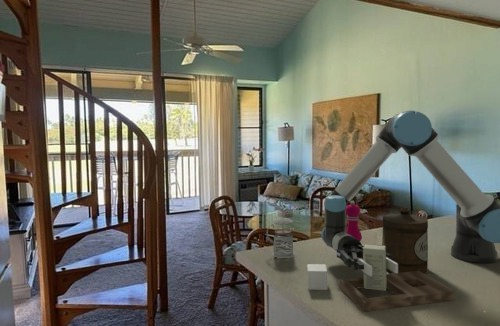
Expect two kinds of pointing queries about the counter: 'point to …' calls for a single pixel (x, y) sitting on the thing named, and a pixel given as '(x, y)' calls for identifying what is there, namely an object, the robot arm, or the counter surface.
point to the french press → (282, 238)
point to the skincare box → (375, 267)
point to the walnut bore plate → (399, 291)
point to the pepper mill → (353, 221)
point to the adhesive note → (317, 276)
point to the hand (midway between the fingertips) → (384, 269)
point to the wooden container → (406, 240)
